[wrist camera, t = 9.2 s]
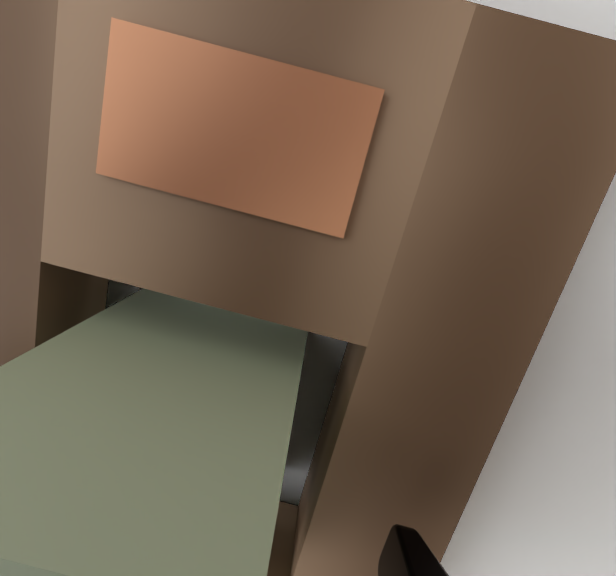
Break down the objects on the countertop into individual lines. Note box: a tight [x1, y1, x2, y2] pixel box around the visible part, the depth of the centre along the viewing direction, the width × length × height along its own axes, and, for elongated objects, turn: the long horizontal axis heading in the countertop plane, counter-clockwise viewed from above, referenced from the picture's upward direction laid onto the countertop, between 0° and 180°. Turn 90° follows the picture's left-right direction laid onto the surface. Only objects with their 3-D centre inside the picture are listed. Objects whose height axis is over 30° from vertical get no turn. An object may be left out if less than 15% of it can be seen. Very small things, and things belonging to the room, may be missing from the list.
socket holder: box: [0, 0, 616, 576], centre depth 9 cm, size 12×18×3 cm
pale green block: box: [0, 288, 308, 576], centre depth 7 cm, size 4×4×7 cm
